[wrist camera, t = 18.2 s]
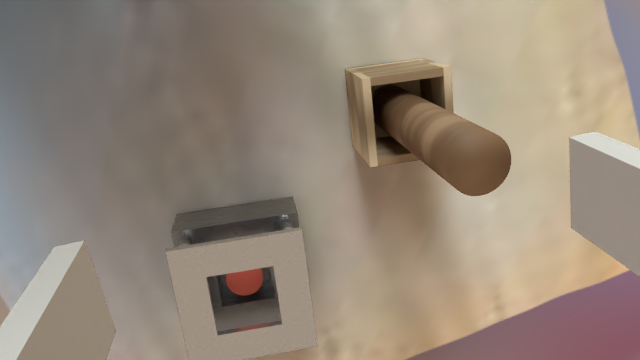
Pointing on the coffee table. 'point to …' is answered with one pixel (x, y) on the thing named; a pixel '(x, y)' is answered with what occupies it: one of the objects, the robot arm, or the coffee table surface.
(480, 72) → the coffee table surface
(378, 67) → the pen cup
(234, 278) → the breaker button
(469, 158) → the brown wooden rod
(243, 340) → the grey button box
